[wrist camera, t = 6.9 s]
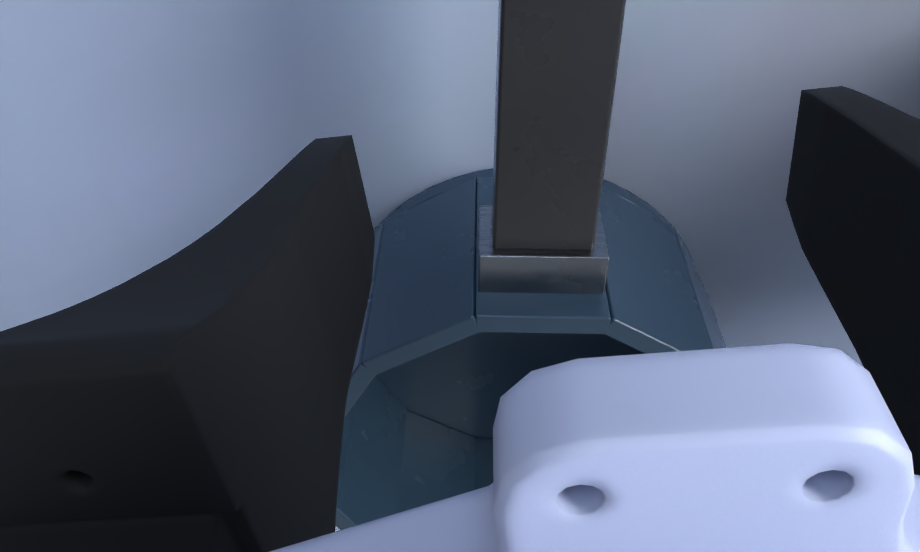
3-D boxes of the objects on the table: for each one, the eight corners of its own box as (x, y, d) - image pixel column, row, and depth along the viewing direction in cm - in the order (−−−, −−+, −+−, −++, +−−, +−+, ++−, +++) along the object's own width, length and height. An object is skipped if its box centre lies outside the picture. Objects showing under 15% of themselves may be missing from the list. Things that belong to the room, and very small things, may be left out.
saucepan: (668, 437, 29) (705, 601, 24) (358, 431, 29) (333, 594, 24) (824, -215, 17) (966, -149, 12) (287, -218, 17) (206, -155, 12)
